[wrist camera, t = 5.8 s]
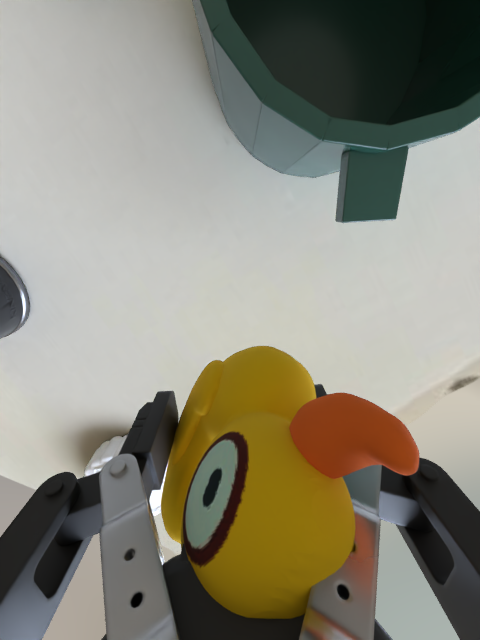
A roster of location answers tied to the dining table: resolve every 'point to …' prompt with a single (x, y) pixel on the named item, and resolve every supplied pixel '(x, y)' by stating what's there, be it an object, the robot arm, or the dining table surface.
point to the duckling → (271, 479)
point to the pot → (343, 86)
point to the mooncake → (110, 451)
